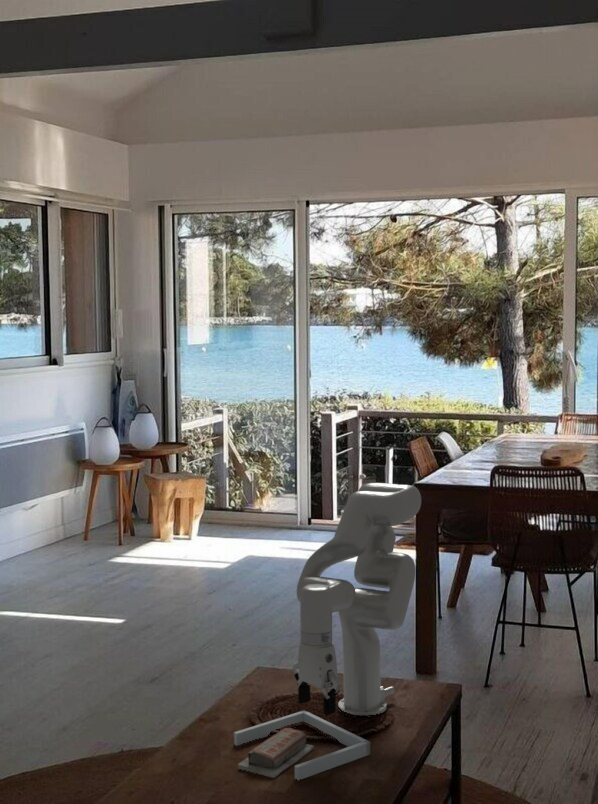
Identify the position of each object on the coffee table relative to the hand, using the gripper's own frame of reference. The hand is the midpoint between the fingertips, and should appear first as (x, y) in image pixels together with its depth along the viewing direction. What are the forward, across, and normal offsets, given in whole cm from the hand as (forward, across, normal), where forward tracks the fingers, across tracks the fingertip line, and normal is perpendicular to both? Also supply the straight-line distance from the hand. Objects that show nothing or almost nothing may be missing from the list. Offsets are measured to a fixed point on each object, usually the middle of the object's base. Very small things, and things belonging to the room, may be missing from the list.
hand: (316, 707), depth 268 cm
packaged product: (+10, 0, +12) cm, 16 cm away
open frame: (+9, 0, +5) cm, 11 cm away
